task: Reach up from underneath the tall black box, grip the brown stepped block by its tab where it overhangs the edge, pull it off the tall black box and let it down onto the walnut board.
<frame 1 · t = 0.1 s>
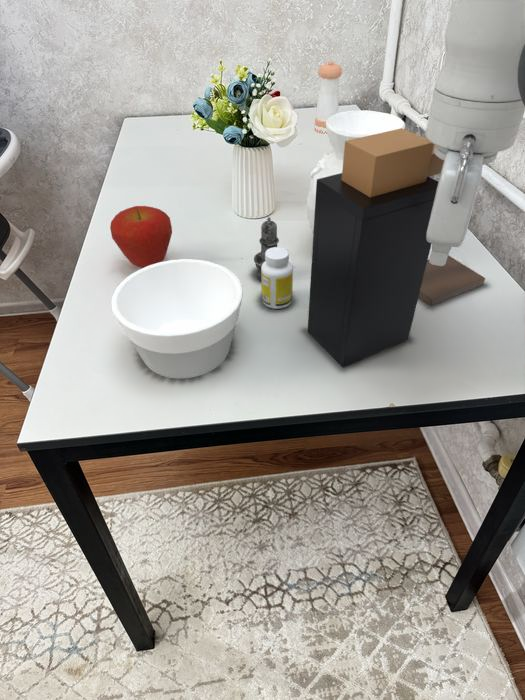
hand: (441, 242, 59), 22 cm above the table, tool pointing down, fingers open, 8 cm apart
bowl: (186, 348, 79), on the table
pitcher: (349, 249, 101), on the table
apple: (149, 266, 97), on the table
brown stepped block: (383, 181, 63), point 26 cm above the table, touching tall black box
supplement bottle: (276, 301, 88), on the table
dark grey tall piece: (269, 275, 94), on the table
tall black box: (357, 335, 80), on the table
salt shaker 2: (325, 130, 155), on the table
board: (437, 281, 92), on the table
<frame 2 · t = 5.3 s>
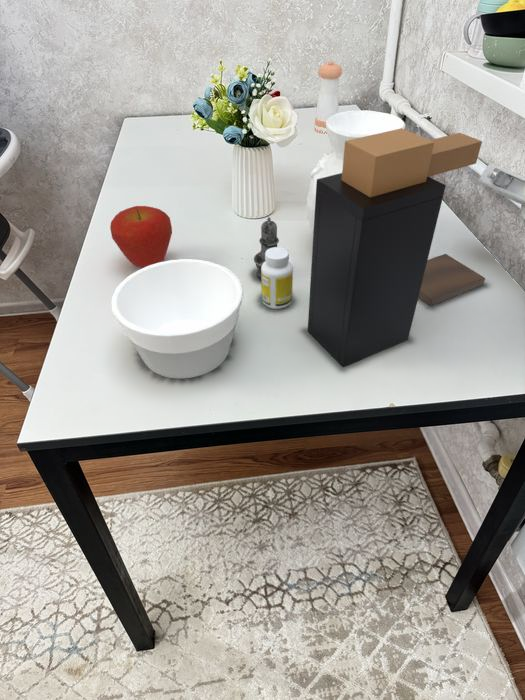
hand: (516, 183, 77), 20 cm above the table, tool pointing upward, fingers open, 8 cm apart
nothing on the table moved.
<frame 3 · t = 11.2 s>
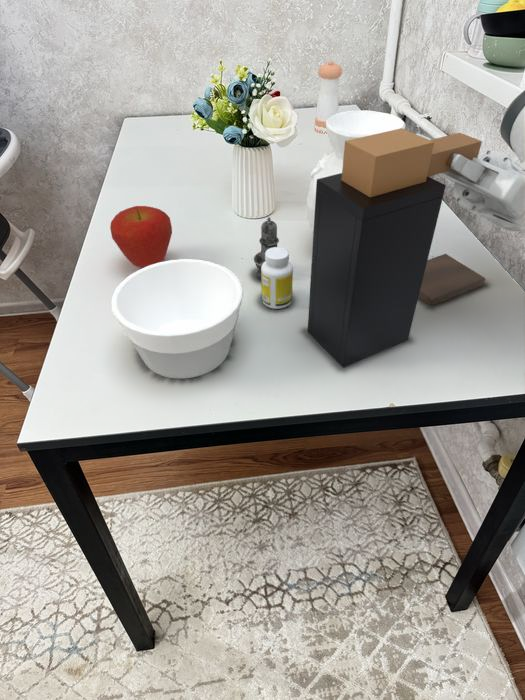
hand: (437, 152, 65), 28 cm above the table, tool pointing upward, fingers closed on brown stepped block, 4 cm apart
brown stepped block: (383, 181, 63), point 26 cm above the table, touching gripper, tall black box
everything else where it was.
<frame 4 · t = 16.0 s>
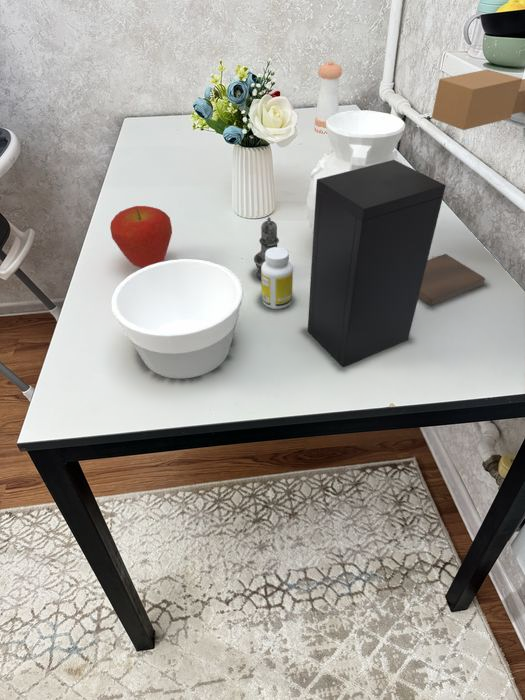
hand: (518, 93, 70), 32 cm above the table, tool pointing upward, fingers closed on brown stepped block, 4 cm apart
brown stepped block: (470, 118, 69), point 30 cm above the table, touching gripper
everything else where it was.
when the fingers open (15 cm above the table, at t = 20.8 s): brown stepped block drops 12 cm, resting on board.
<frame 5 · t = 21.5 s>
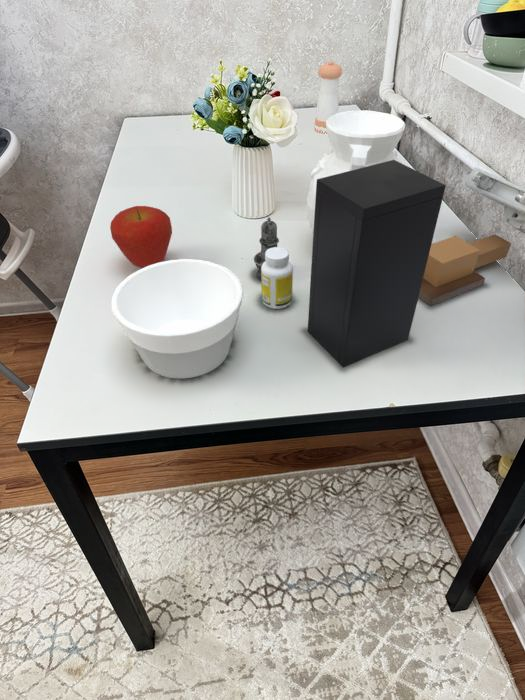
hand: (497, 186, 83), 17 cm above the table, tool pointing upward, fingers open, 8 cm apart
brown stepped block: (442, 272, 91), point 1 cm above the table, touching board
everything else where it was.
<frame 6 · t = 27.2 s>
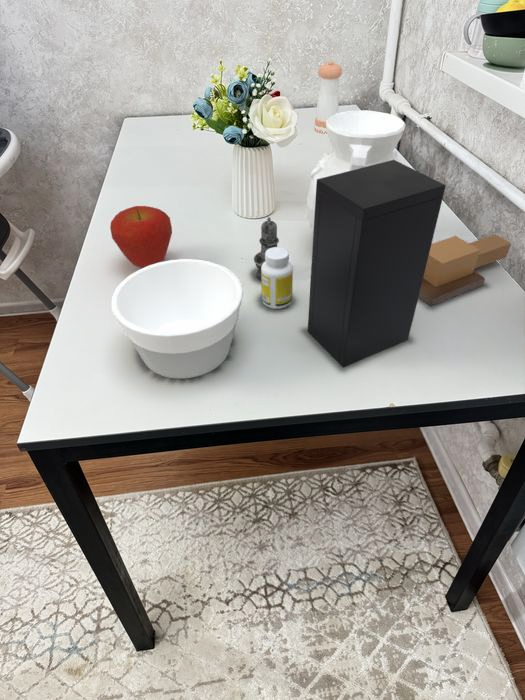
nothing on the table moved.
at the end: brown stepped block inside the target area on the board (1.1 cm from its centre), point 1.5 cm above the board's base; brown stepped block touching board; the gripper is holding nothing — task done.
